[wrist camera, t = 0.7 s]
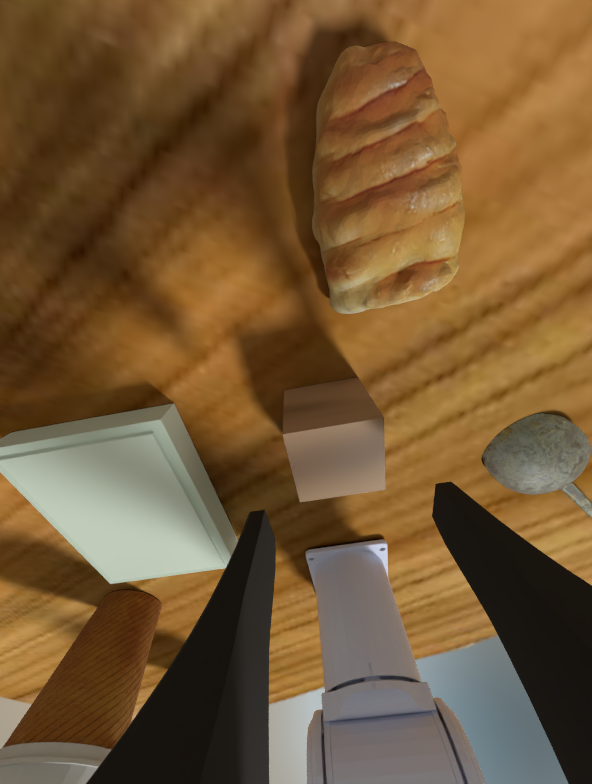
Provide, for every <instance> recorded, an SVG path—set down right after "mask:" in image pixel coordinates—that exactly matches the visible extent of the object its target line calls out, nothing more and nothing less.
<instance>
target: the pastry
mask: <svg viewBox="0 0 592 784" xmlns="http://www.w3.org/2000/svg"><path fill="white" fill-rule="evenodd" d="M461 173H462V168H461V165H460V163H459V159H458V155H457V150H456V142H455V139H454V138H453V137H452V135H451V134H450V131H449V125H448V121H447V117H446V113H445V112H444V111H443V110H442V109H441V108H440V105H439V101H438V99H437V97H436V95H435V92H434V88H433V85H432V80H431V78H430V76H429V75H428V74H427V72H426V70H425V68H424V65H423V64H422V62H421V60H420V58H419V56H418V53H417V51H416V50H415V49H413V48H410V47H408V46H406V45H403V44H401V43H398V42H383V43H376V44H373V45H369V46H366V47H362V46H359V45H353V46H351V47H349V48H347V49H345V50H344V51H343V52H342V53H341V54H340V56H339V58H338V60H337V61H336V63H335V66H334V68H333V71H332V73H331V75H330V77H329V79H328V81H327V84H326V86H325V88H324V90H323V92H322V94H321V97H320V99H319V102H318V105H317V112H316V149H315V156H314V161H313V167H312V174H313V191H314V214H313V217H312V231H313V234H314V237H315V239H316V240H317V242H318V243H319V245H320V249H321V256H322V261H323V264H324V270H325V274H326V278H327V282H328V286H329V290H330V305H331V307H332V308H333V309H334V310H335V311H337V312H339V313H344V314H352V313H359V312H362V311H364V310H369V309H376V308H383V307H386V306H390V305H396V304H400V303H404V302H407V301H412V300H416V299H419V298H422V297H424V296H426V295H428V294H429V293H430V292H432V291H437V290H439V289H441V288H443V287H444V286H445V285H447V284H448V283H449V282H450V281H451V280H452V279H453V277H454V276H455V274H456V272H457V270H458V269H459V264H458V261H457V256H458V250H459V245H460V241H461V238H462V230H463V227H464V219H465V209H464V204H463V198H462V194H461V181H462V179H461Z"/></svg>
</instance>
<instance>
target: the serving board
mask: <svg viewBox="0 0 592 784" xmlns="http://www.w3.org/2000/svg"><path fill="white" fill-rule="evenodd" d="M0 472H1V473H2V474H3V475H4V476H5V477H6V478H7V479H8V480H9V481H10V482H11V484H12V485H13V486H14V487H15V488H16V489H17V490H18V491H19V492H20V493H21V494H22V495H23V496H24V497H25V498H26V499H27V500H28V501H29V502H30V503H31V504H32V505H33V506H34V507H35V508H36V509H37V510H38V511H39V512H40V513H41V514H42V515H43V516H44V517H45V518H46V519H47V520H48V521H49V522H50V523H51V524H52V525H53V526H54V527H55V528H56V529H57V530H58V531H59V532H60V533H61V534H62V535H63V536H64V537H65V538H66V539H67V540H68V541H69V542H70V543H71V544H72V545H73V546H74V548H75V549H76V550H77V551H78V552H79V553H80V554H81V555H82V556H83V557H84V558H85V559H86V560H87V561H88V562H89V563H90V564H91V565H92V566H93V567H94V568H95V569H96V570H97V571H98V572H99V573H100V574H101V575H102V576H103V577H104V578H105V579H106V580H107V581H108V582H109V583H110V584H115V583H122V582H129V581H136V580H143V579H151V578H158V577H165V576H172V575H179V574H187V573H194V572H201V571H208V570H215V569H223V568H226V567H227V564H228V562H229V560H230V558H231V556H232V554H233V552H234V549H235V547H236V545H237V542H238V538H237V536H236V534H235V532H234V530H233V528H232V526H231V523H230V521H229V519H228V517H227V515H226V513H225V511H224V509H223V506H222V504H221V502H220V500H219V498H218V496H217V494H216V492H215V489H214V487H213V485H212V483H211V481H210V479H209V477H208V474H207V472H206V470H205V468H204V466H203V464H202V462H201V460H200V457H199V455H198V453H197V451H196V449H195V447H194V445H193V443H192V440H191V438H190V436H189V434H188V432H187V430H186V428H185V425H184V423H183V421H182V419H181V417H180V415H179V413H178V411H177V408H176V406H175V404H174V403H173V404H167V405H162V406H156V407H150V408H145V409H139V410H134V411H128V412H122V413H117V414H111V415H106V416H100V417H94V418H89V419H83V420H78V421H72V422H66V423H61V424H55V425H50V426H44V427H38V428H33V429H27V430H22V431H16V432H11V433H9V434H8V435H6V436H4V437H3V438H1V439H0Z"/></svg>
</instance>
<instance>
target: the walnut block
mask: <svg viewBox="0 0 592 784" xmlns="http://www.w3.org/2000/svg"><path fill="white" fill-rule="evenodd" d="M283 438H284V442H285V446H286V450H287V454H288V458H289V462H290V466H291V470H292V474H293V477H294V481H295V485H296V489H297V493H298V497H299V501H300V502H306V501H313V500H320V499H326V498H333V497H340V496H346V495H353V494H359V493H366V492H373V491H379V490H385V447H384V417H383V415H382V414H381V412H380V411H379V409H378V408H377V406H376V405H375V403H374V401H373V400H372V398H371V397H370V395H369V394H368V392H367V390H366V389H365V387H364V386H363V384H362V383H361V381H360V380H359V378H358V377H356V378H350V379H344V380H339V381H333V382H327V383H322V384H316V385H310V386H305V387H299V388H294V389H288V390H284V403H283Z"/></svg>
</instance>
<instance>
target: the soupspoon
mask: <svg viewBox="0 0 592 784" xmlns="http://www.w3.org/2000/svg"><path fill="white" fill-rule="evenodd" d="M590 454H591V447H590V443H589V440H588V438H587V436H586V435H585V433H583V432H582V431H581V430H580V429H579V428H578V427H577V426H576V425H574V424H573V423H572V422H570V421H569V420H567V419H566V418H564V417H561V416H558V415H553V414H548V413H547V414H545V413H538V414H534V415H531V416H528V417H526V418H523V419H521V420H519V421H517V422H515V423H514V424H512V425H510V426H509V427H507V428H506V429H504V430H503V431H502V432H501V433H499V434H498V435H497V436H496V437H495V438H494V439H493V440H492V441H491V442H490V444H489V445H488V446H487V448H486V449H485V451H484V453H483V455H482V459H483V461H484V464H485V466H486V468H487V469H488V471H489V473H490V474H491V475H492V476H493V477H494V478H495V479H496V480H497V481H498V482H499V483H501V484H502V485H503V486H505V487H507V488H509V489H511V490H513V491H516V492H519V493H523V494H544V493H549V492H553V491H556V490H559V489H560V490H562V491H563V492H564V493H565V494H566V495H568V496H569V498H571V499H572V500H573V501H574V502H575V503H576V504H577V505H578V506H579V507H580V508H581V509H582V510H583V511H584V512H585V513H586V514H587V515H589V516H590V517H591V518H592V504H591V502H590V501H589V500H588V499H587V498H586V497H585V496H584V494H583V493H582V492H581V491H580V490H579V489H578V488H577V487H576V486H575V485H574V484H573V483H572V482H573V481H574V480H575V479H576V478H577V477H578V476H579V475H580V474H581V473H582V472H583V470H584V469H585V467H586V465H587V463H588V461H589V458H590Z"/></svg>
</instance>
